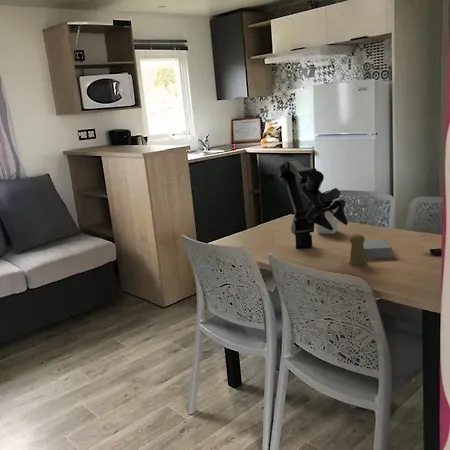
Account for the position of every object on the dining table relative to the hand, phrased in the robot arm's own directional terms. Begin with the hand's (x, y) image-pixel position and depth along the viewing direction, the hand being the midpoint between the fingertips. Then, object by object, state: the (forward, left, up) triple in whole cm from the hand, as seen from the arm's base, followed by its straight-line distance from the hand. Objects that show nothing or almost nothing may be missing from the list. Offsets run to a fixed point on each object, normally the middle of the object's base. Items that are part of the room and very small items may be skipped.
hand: (339, 227), depth 186 cm
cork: (+6, -5, -13) cm, 15 cm away
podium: (+13, +6, -13) cm, 19 cm away
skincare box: (-3, +42, -13) cm, 44 cm away
